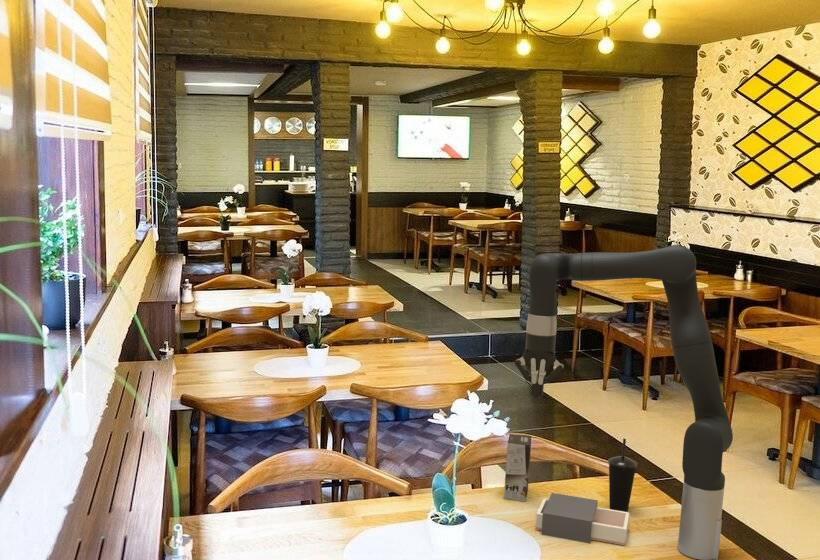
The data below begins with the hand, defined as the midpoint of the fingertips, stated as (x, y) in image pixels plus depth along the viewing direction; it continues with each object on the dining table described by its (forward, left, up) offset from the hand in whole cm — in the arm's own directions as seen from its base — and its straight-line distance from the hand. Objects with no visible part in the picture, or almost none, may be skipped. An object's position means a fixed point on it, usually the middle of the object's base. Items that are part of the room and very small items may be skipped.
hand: (536, 397), depth 211 cm
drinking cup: (-22, -14, -32) cm, 41 cm away
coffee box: (+6, -13, -32) cm, 35 cm away
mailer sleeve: (-11, +3, -32) cm, 34 cm away
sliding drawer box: (-14, +3, -32) cm, 35 cm away
